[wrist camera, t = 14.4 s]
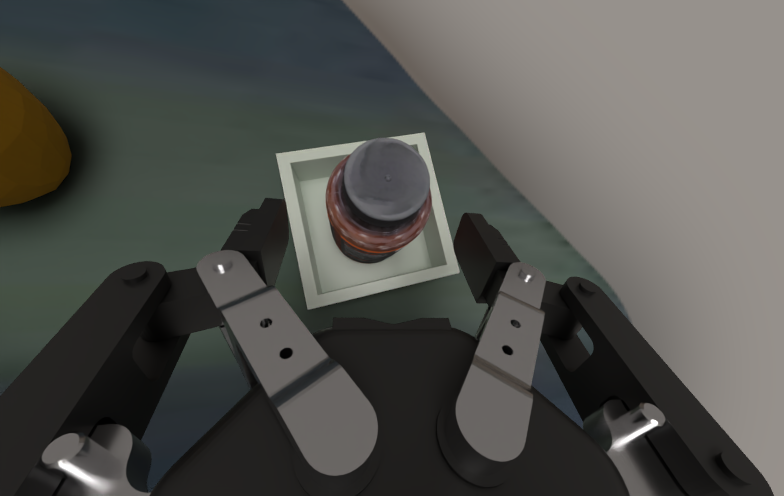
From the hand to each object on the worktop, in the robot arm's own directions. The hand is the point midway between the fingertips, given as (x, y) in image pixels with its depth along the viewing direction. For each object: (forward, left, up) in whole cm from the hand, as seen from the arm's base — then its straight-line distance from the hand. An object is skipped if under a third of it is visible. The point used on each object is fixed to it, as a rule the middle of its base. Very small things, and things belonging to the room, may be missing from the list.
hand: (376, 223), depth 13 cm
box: (+1, +2, -11) cm, 12 cm away
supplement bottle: (+1, +2, -11) cm, 11 cm away
